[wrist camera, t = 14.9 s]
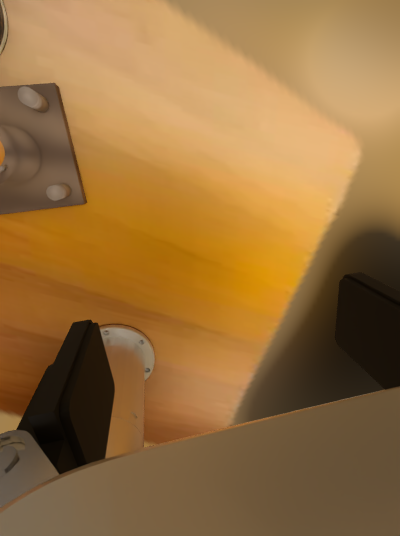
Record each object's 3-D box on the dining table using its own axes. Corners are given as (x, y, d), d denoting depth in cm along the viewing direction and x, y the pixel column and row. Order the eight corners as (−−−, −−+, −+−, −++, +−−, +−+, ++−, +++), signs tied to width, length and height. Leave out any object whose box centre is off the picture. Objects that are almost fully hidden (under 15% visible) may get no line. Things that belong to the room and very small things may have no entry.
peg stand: (86, 202, 36) (76, 208, 31) (-21, 215, 35) (-50, 224, 30) (58, 86, 32) (41, 71, 27) (-68, 95, 30) (-112, 81, 25)
